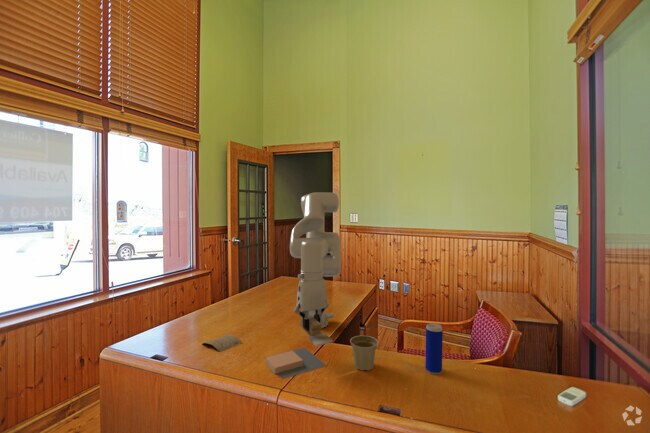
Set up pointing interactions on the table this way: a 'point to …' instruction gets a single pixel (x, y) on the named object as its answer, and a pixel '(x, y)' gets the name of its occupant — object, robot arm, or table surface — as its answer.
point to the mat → (308, 363)
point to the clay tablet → (225, 342)
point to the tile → (284, 362)
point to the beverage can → (434, 348)
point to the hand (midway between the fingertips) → (311, 327)
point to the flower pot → (364, 351)
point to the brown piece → (316, 332)
